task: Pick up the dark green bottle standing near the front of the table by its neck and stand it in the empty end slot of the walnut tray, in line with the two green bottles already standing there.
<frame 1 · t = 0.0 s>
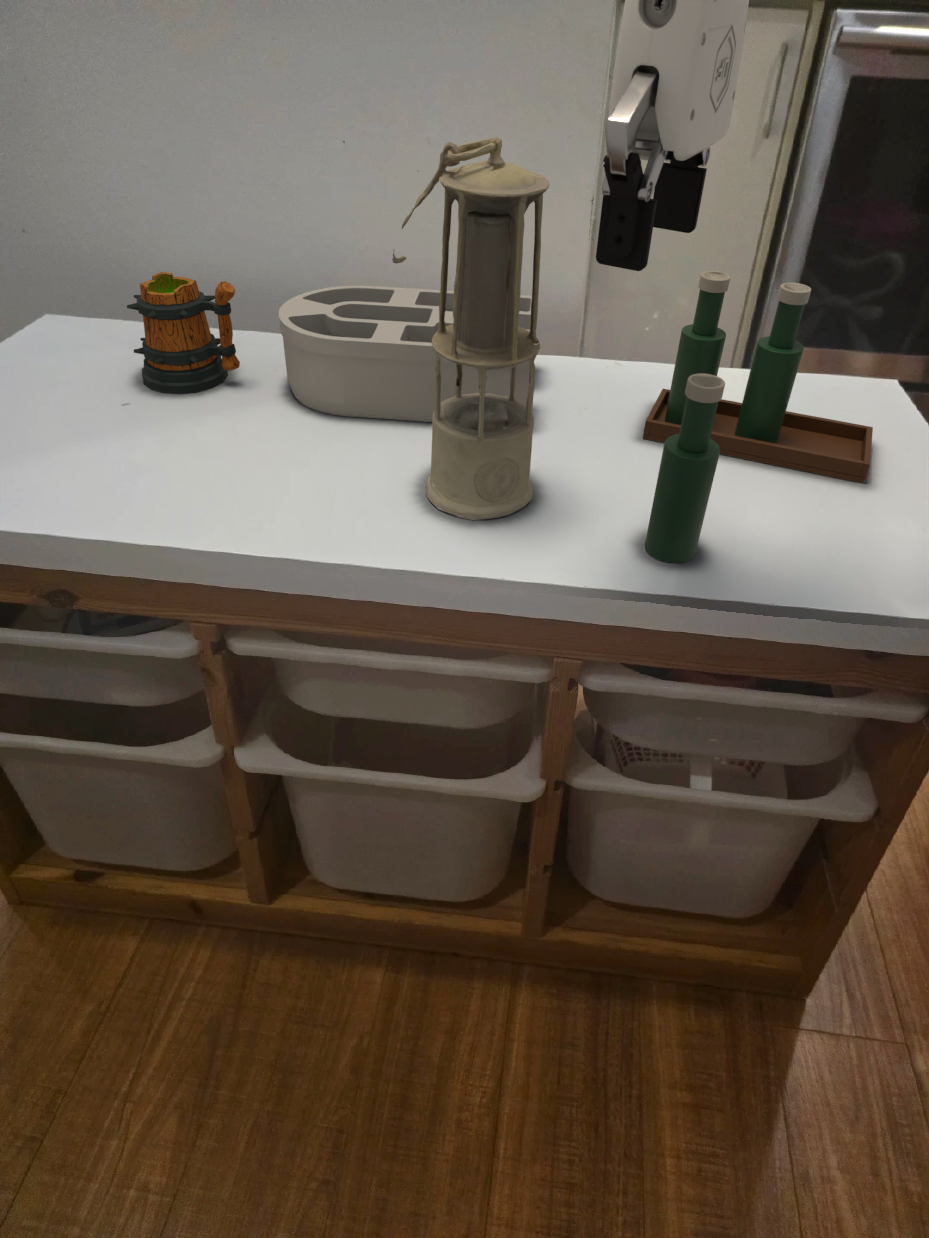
hand: (647, 246, 56), 26 cm above the storage unit top, tool pointing down, fingers open, 9 cm apart
tray: (754, 442, 91), on the storage unit top
bottle: (670, 548, 75), on the storage unit top
bottle mid: (755, 436, 90), point 1 cm above the storage unit top, touching tray
bottle end: (685, 423, 92), point 1 cm above the storage unit top, touching tray
grey compartment organizer: (409, 391, 99), on the storage unit top
lamp: (465, 489, 82), on the storage unit top
mug: (197, 379, 99), on the storage unit top
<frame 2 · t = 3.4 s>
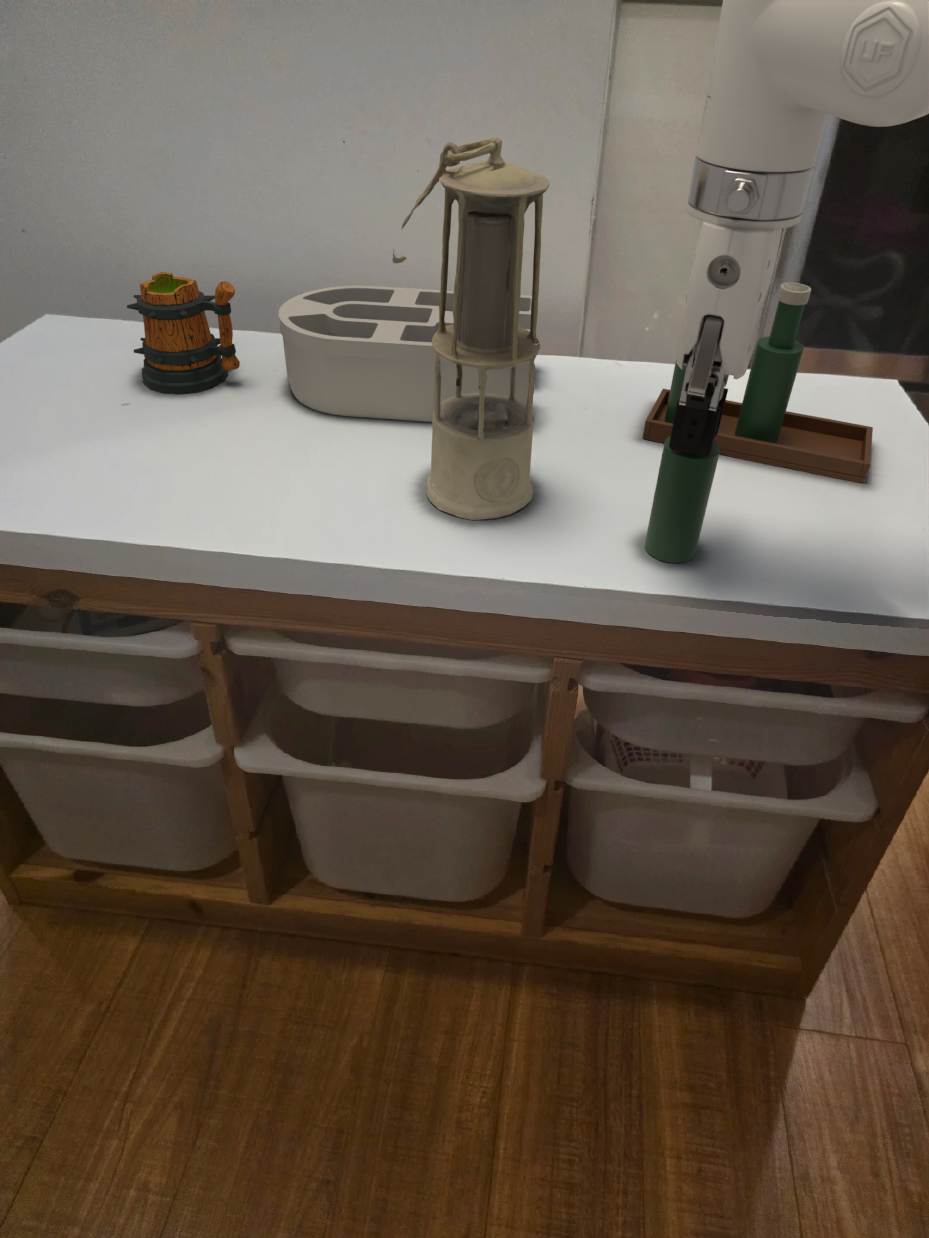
hand: (693, 440, 68), 10 cm above the storage unit top, tool pointing down, fingers closed on bottle, 2 cm apart
bottle: (669, 548, 75), on the storage unit top, touching gripper
everything else where it was.
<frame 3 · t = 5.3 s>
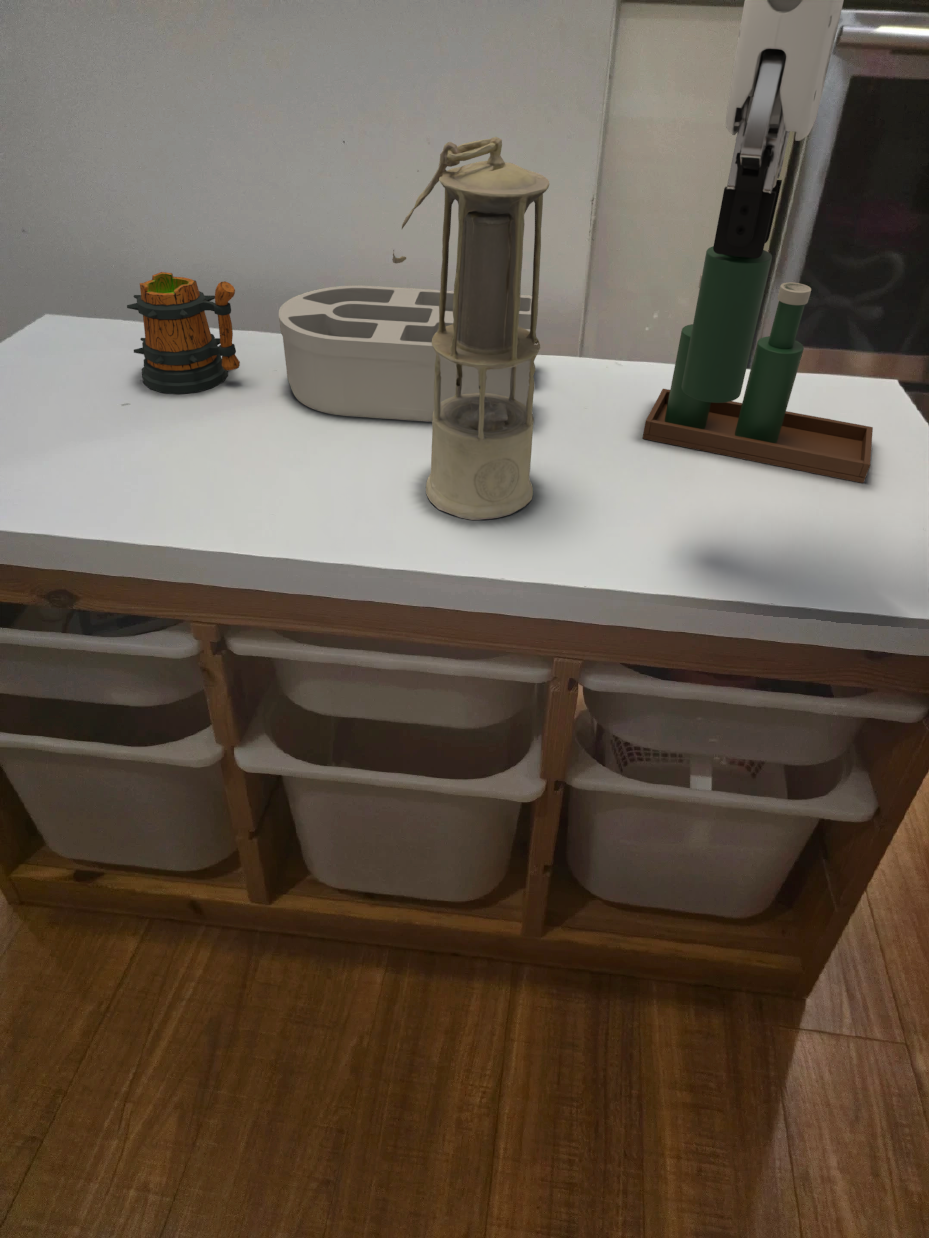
hand: (741, 245, 59), 25 cm above the storage unit top, tool pointing down, fingers closed on bottle, 2 cm apart
bottle: (710, 390, 65), point 15 cm above the storage unit top, touching gripper
everything else where it was.
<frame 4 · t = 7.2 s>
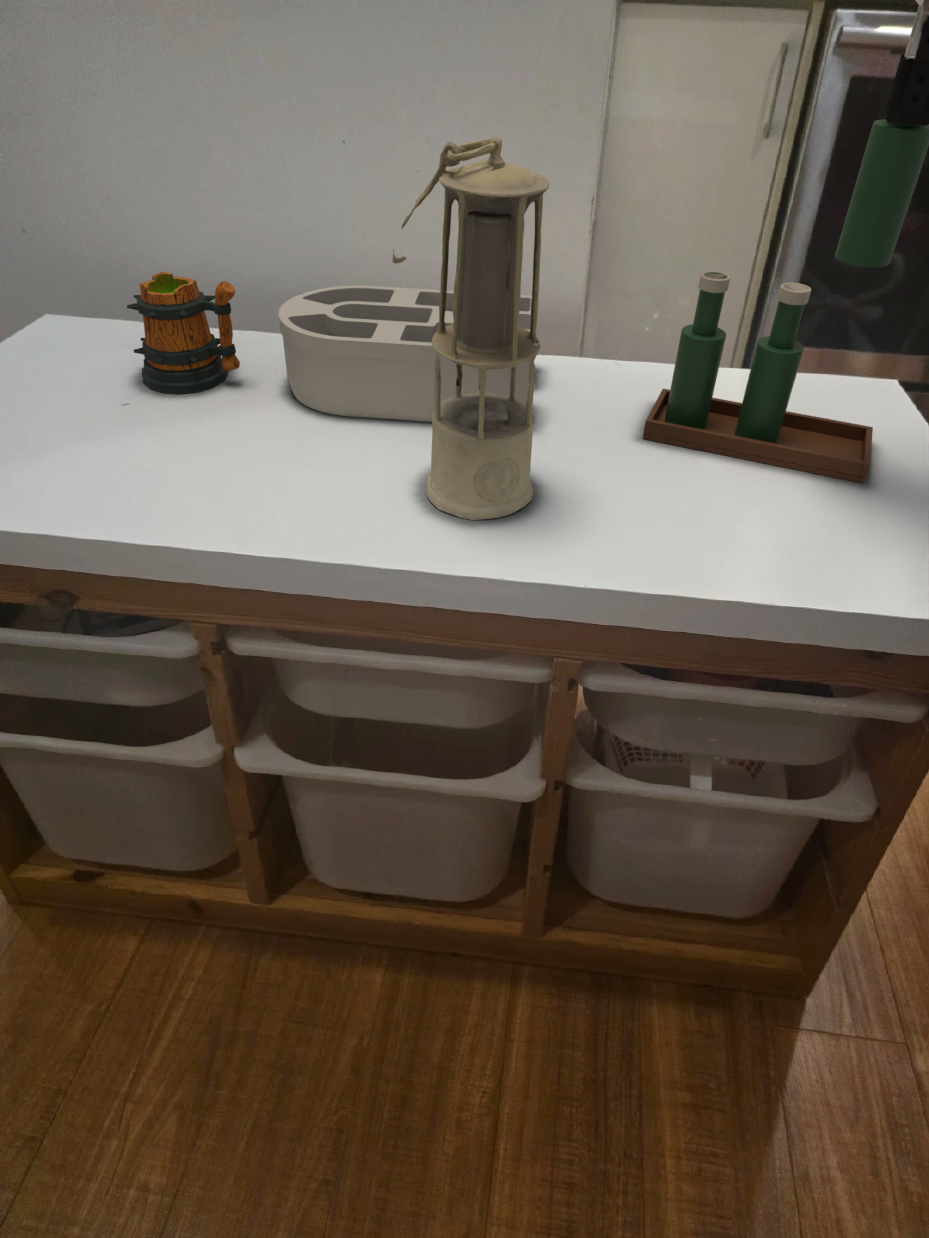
hand: (907, 117, 66), 31 cm above the storage unit top, tool pointing down, fingers closed on bottle, 2 cm apart
bottle: (862, 259, 72), point 21 cm above the storage unit top, touching gripper
everything else where it was.
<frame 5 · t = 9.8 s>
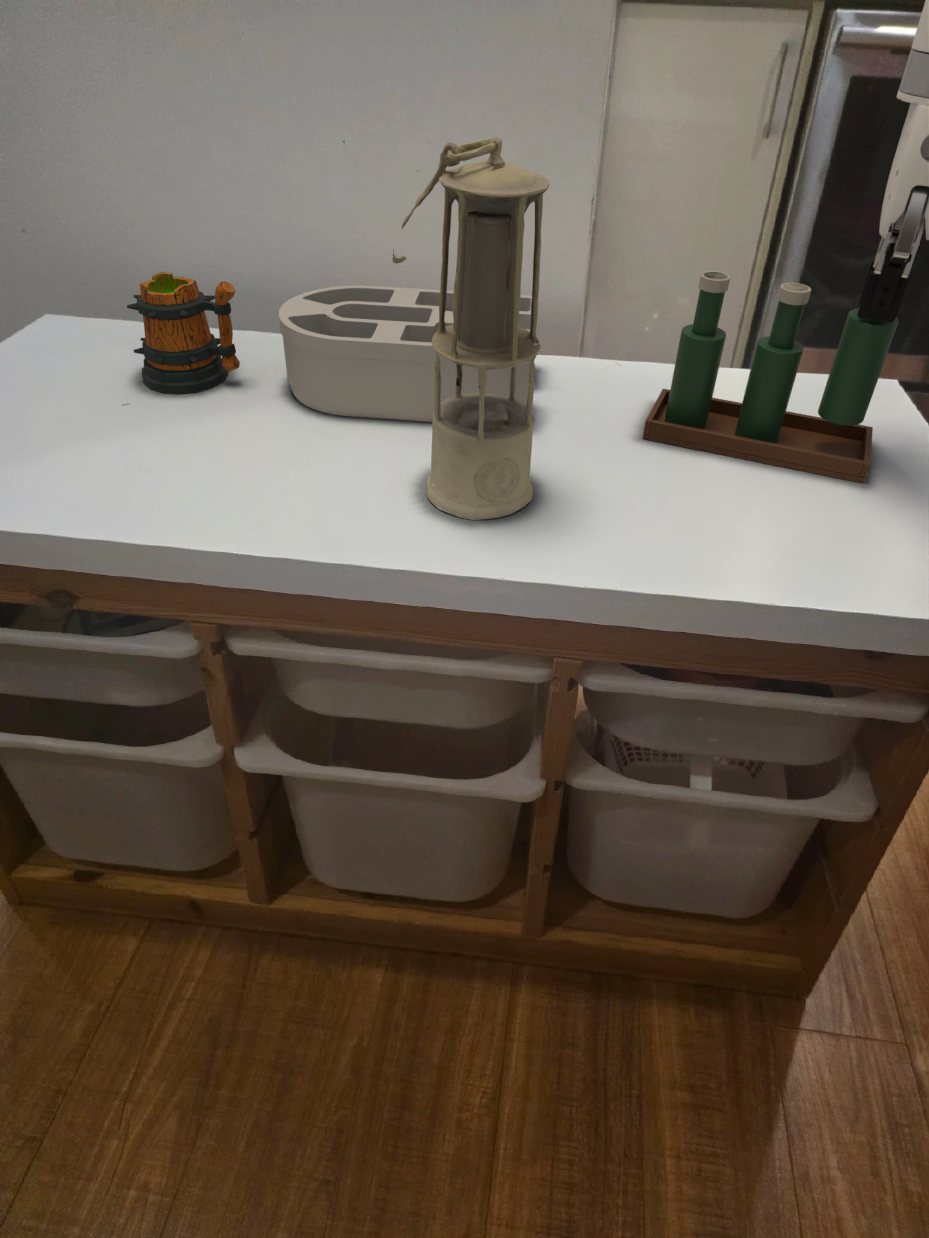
hand: (876, 311, 79), 15 cm above the storage unit top, tool pointing down, fingers closed on bottle, 2 cm apart
bottle: (840, 415, 86), point 5 cm above the storage unit top, touching gripper
everything else where it was.
when the fingers open (11 cm above the storage unit top, at t = 11.1 s): bottle stays where it is, resting on tray.
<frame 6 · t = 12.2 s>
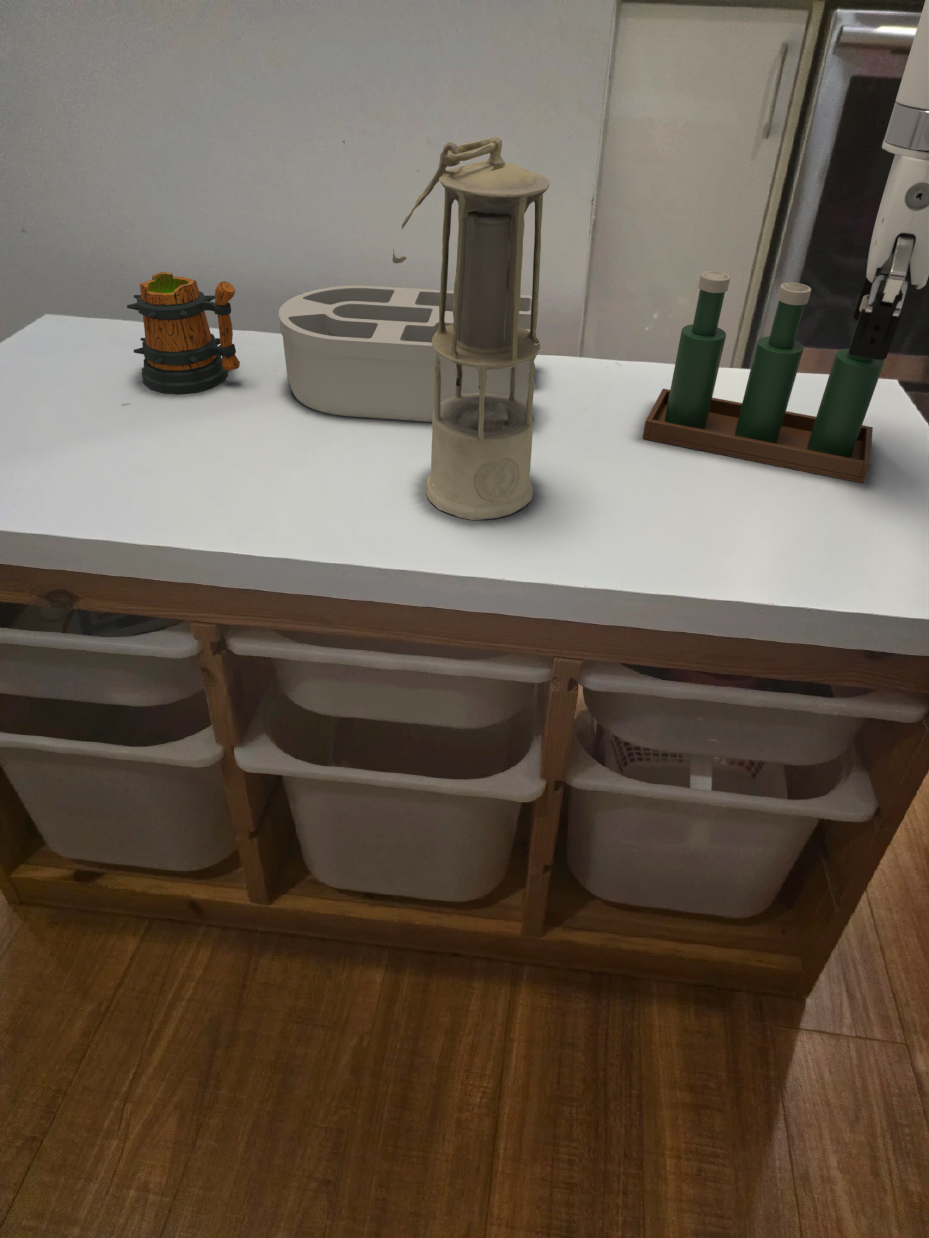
hand: (868, 338, 81), 13 cm above the storage unit top, tool pointing down, fingers open, 9 cm apart
bottle: (829, 450, 88), point 1 cm above the storage unit top, touching tray
everything else where it was.
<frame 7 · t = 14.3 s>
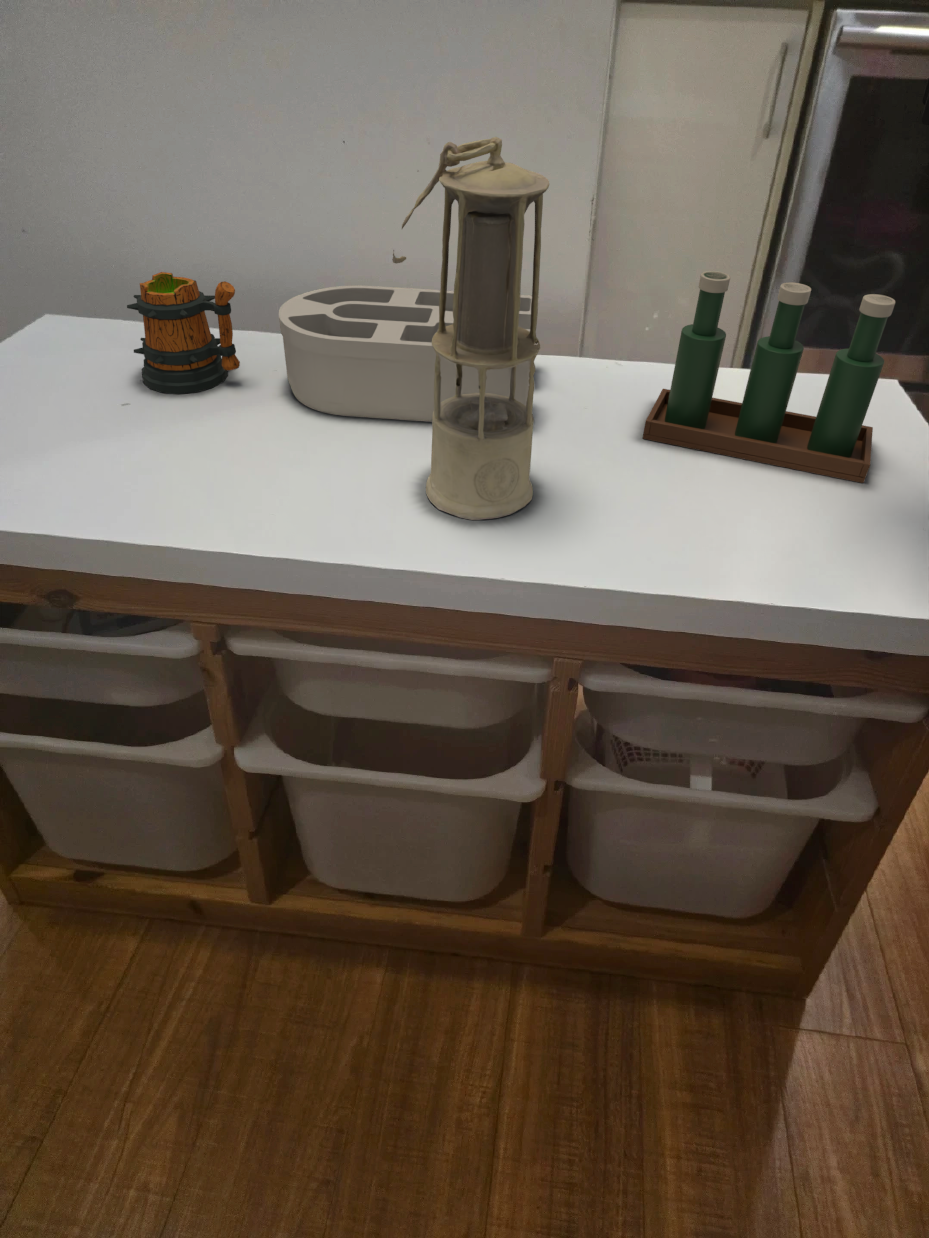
nothing on the storage unit top moved.
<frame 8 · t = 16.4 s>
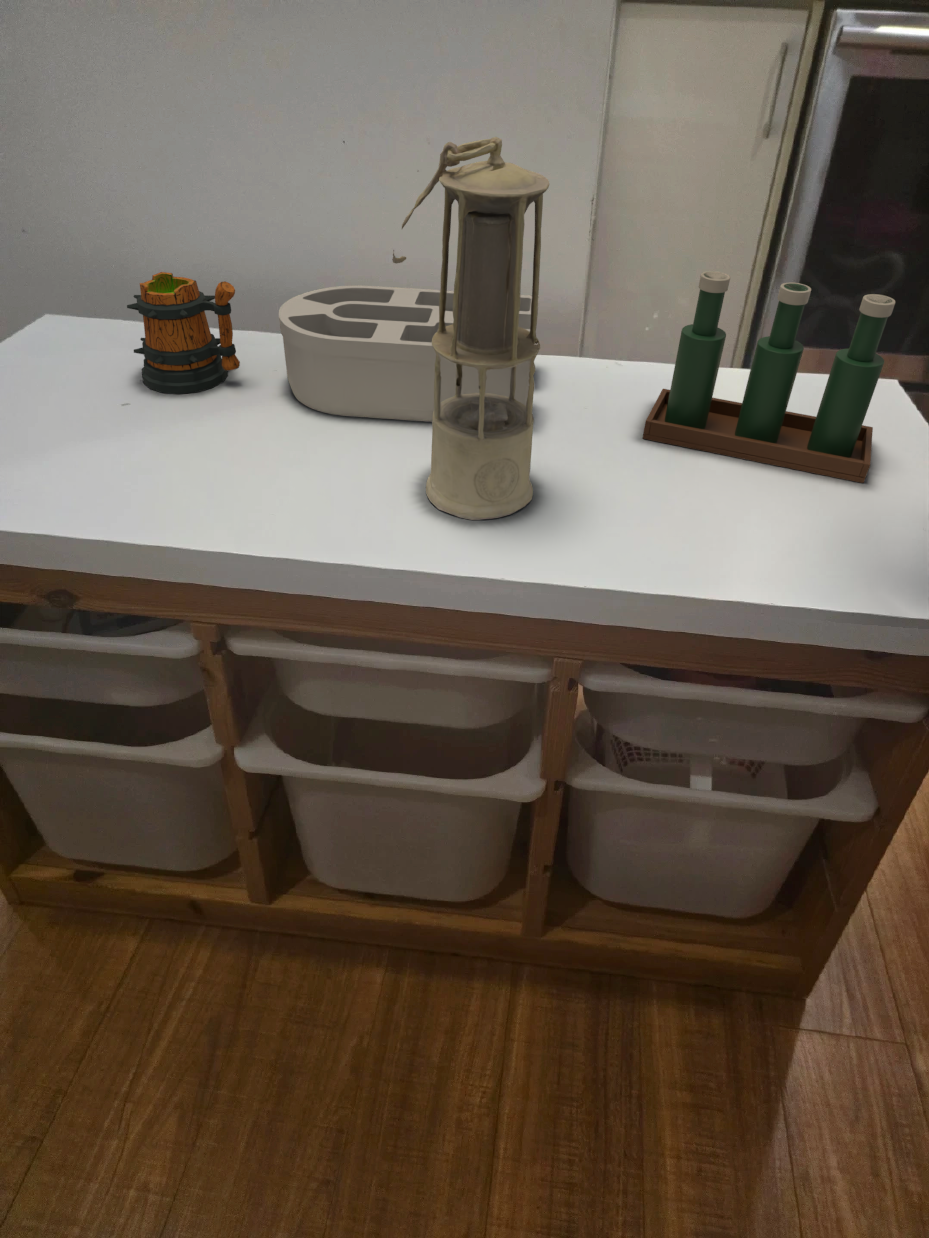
nothing on the storage unit top moved.
at the end: bottle 0.1 cm from the target spot in the tray, point 0.6 cm above the tray's base; bottle tilted 0°; bottle mid moved 0.0 cm from its start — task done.
